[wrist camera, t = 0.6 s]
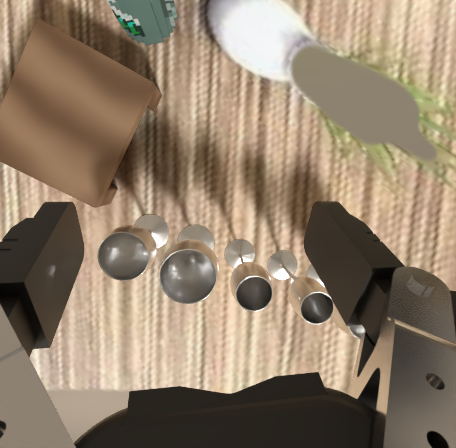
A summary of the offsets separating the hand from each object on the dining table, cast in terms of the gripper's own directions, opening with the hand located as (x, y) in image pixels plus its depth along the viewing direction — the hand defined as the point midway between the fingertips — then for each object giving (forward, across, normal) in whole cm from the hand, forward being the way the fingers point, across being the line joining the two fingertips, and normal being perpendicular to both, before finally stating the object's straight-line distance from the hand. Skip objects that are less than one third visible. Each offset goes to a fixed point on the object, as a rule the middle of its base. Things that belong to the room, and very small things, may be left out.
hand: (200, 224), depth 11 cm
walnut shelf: (+29, +11, +5) cm, 31 cm away
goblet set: (+21, -7, +18) cm, 29 cm away
